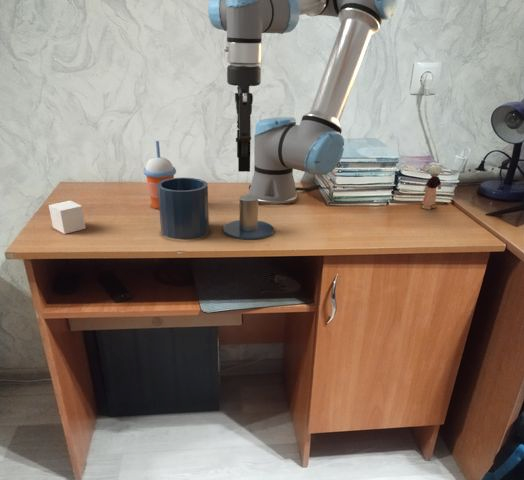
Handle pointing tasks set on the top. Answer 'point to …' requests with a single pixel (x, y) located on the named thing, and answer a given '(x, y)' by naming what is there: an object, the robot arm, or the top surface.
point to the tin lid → (248, 221)
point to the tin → (183, 208)
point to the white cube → (67, 216)
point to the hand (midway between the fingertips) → (243, 164)
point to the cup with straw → (157, 175)
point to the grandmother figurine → (432, 187)
